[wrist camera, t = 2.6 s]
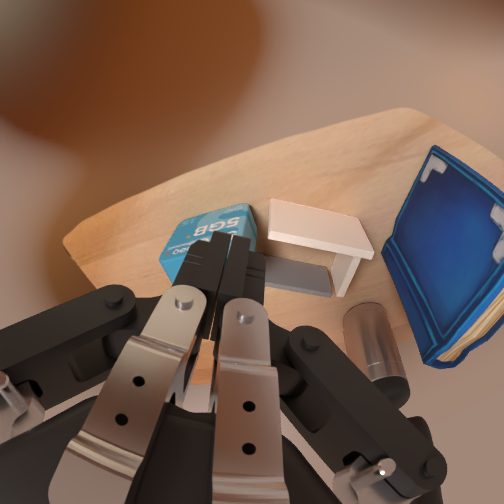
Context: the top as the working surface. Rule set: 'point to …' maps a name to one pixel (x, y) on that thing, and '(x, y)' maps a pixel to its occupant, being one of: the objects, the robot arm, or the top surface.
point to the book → (449, 259)
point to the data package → (207, 234)
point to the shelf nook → (315, 236)
